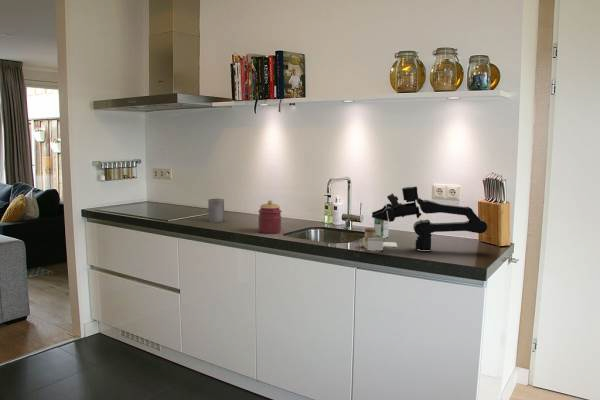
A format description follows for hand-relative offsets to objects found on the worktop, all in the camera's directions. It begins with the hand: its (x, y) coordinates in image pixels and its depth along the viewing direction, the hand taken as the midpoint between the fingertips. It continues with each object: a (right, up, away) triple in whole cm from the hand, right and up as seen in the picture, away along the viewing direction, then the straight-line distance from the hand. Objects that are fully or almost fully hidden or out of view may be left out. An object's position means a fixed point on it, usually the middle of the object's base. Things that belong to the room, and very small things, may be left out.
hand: (372, 214), depth 219 cm
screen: (+1, -17, -4) cm, 17 cm away
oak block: (-1, -16, +4) cm, 16 cm away
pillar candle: (-87, -6, +71) cm, 112 cm away
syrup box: (+9, -13, +26) cm, 31 cm away
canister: (-51, -11, +39) cm, 65 cm away
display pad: (+8, -15, +6) cm, 19 cm away
